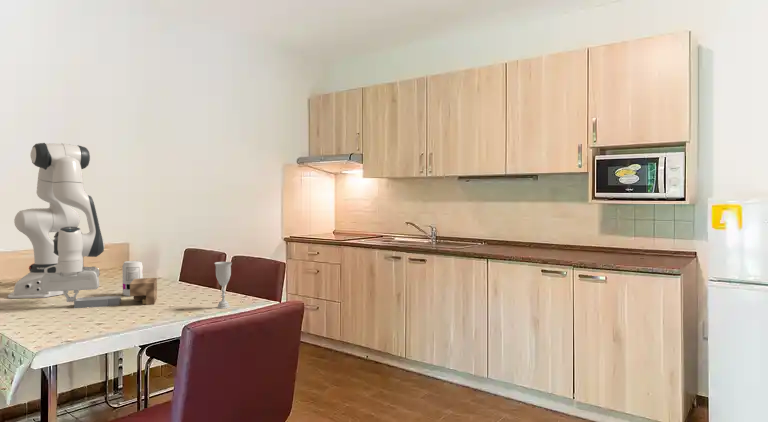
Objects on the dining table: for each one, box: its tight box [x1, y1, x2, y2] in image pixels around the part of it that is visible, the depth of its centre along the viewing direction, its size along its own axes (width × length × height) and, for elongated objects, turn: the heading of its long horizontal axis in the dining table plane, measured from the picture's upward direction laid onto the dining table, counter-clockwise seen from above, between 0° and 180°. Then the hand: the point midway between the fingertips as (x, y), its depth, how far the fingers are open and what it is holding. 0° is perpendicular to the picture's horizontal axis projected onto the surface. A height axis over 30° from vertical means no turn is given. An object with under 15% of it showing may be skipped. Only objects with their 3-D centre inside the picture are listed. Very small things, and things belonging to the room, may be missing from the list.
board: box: [73, 295, 122, 309], centre depth 216 cm, size 16×7×3 cm, turn 109°
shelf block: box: [129, 277, 158, 306], centre depth 223 cm, size 9×14×9 cm, turn 19°
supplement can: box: [122, 260, 144, 297], centre depth 239 cm, size 8×8×15 cm
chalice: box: [214, 261, 233, 309], centre depth 213 cm, size 7×7×18 cm
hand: (71, 301), depth 213 cm, fingers closed
